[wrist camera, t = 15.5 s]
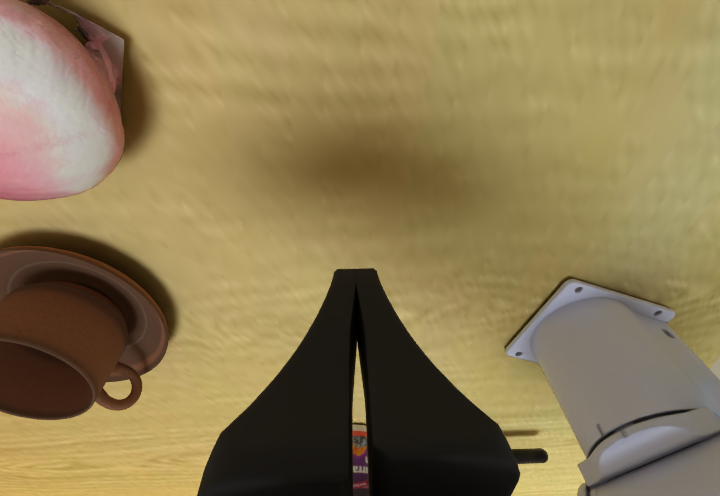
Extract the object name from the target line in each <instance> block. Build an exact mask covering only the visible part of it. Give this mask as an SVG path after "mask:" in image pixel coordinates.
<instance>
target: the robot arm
mask: <svg viewBox="0 0 720 496" xmlns="http://www.w3.org/2000/svg"><path fill="white" fill-rule="evenodd" d="M577 287H578V288H577ZM674 316H675V312H674V311H673V310H672V309H671V308H667V307H664V306H661V305H658V304H654V303H651V302H648V301H645V300H641V299H638V298H635V297H631V296H628V295H625V294H622V293H618V292H615V291H612V290H608V289H605V288H602V287H599V286H595V285H592V284H589V283H586V282H582V281H579V280H576V279H569V280H567V281H565V282H564V283H563V284H562V286H561V287H560V288H559V289H558V290H557V291H556V292H555V293H554V295H553V296H552V297H551V298H550V299H549V300H548V301H547V302H546V304H545V305H544V306H543V307H542V308H541V309H540V310H539V311H538V313H537V314H536V315H535V316H534V317H533V318H532V319H531V320H530V322H529V323H528V324H527V325H526V326H525V327H524V328H523V329H522V331H521V332H520V333H519V334H518V335H517V336H516V337H515V338H514V340H513V341H512V342H511V343H510V344H509V345H508V346H507V347H506V349H505V351H506V354H507V355H508V356H511V357H515V358H520V359H524V360H528V361H532V362H536V363H539V365H540V367H541V369H542V371H543V373H544V375H545V377H546V379H547V381H548V383H549V385H550V386H551V388H552V390H553V392H554V394H555V396H556V398H557V400H558V402H559V404H560V406H561V408H562V410H563V412H564V414H565V416H566V418H567V420H568V422H569V424H570V426H571V428H572V430H573V432H574V434H575V436H576V438H577V440H578V442H579V444H580V446H581V448H582V450H583V452H584V454H585V456H586V458H587V459H586V460H584V461H583V462H581V463H579V464H578V467H579V469H580V471H581V473H582V475H583V477H584V479H585V483H583V484H582V485H581V486H580V487H579V489H578V493H577V496H720V380H719V379H718V378H717V377H716V376H715V374H714V373H712V371H711V370H710V369H709V368H708V367H707V366H706V365H705V364H704V363H703V362H702V361H701V360H700V358H699V357H698V356H697V355H696V354H695V353H694V352H693V351H692V350H691V349H690V348H689V347H688V346H687V345H686V343H685V342H684V341H683V340H682V339H681V338H680V337H679V336H678V335H677V334H676V333H675V332H674V331H673V330H672V328H671V327H670V326H669V325H668V324H667V323H668V322H669V321H670V320H671V319H673V318H674ZM357 342H358V350H359V358H360V366H361V374H362V381H363V389H364V397H365V408H366V429H367V456H368V483H369V496H511V494H512V492H513V490H514V488H515V486H516V485H517V483H518V481H519V477H520V471H519V469H518V464H517V461H516V459H515V456H514V454H513V452H512V450H511V448H510V446H509V444H508V442H507V440H506V438H505V436H504V434H503V432H502V430H501V429H500V427H499V425H498V424H497V423H496V422H494V421H493V420H492V419H491V418H490V417H488V416H487V415H486V414H485V413H483V412H482V411H481V410H480V409H479V408H478V407H476V406H475V405H474V404H473V403H472V402H471V401H470V400H469V399H467V398H466V397H465V396H464V395H463V394H462V393H461V392H460V391H459V390H458V389H457V388H456V387H455V386H454V385H453V384H452V383H451V382H450V381H449V380H448V379H447V378H446V377H445V376H444V375H443V374H442V373H441V372H440V371H439V370H438V369H437V368H436V367H435V365H434V364H433V363H432V362H431V361H430V360H429V358H428V357H427V356H426V355H425V354H424V352H423V351H422V350H421V349H420V347H419V346H418V345H417V344H416V342H415V341H414V339H413V338H412V337H411V335H410V334H409V333H408V331H407V330H406V328H405V327H404V325H403V324H402V322H401V320H400V319H399V317H398V316H397V314H396V312H395V310H394V309H393V307H392V305H391V303H390V302H389V300H388V298H387V296H386V294H385V292H384V290H383V287H382V285H381V283H380V280H379V277H378V274H377V271H376V270H375V269H374V268H370V269H337V270H336V271H335V272H334V276H333V279H332V283H331V286H330V288H329V291H328V293H327V296H326V298H325V300H324V302H323V304H322V307H321V309H320V311H319V313H318V315H317V317H316V318H315V320H314V322H313V324H312V326H311V327H310V329H309V331H308V333H307V334H306V336H305V337H304V339H303V341H302V342H301V344H300V345H299V347H298V348H297V350H296V351H295V352H294V354H293V355H292V357H291V358H290V359H289V361H288V362H287V363H286V365H285V366H284V367H283V368H282V370H281V371H280V372H279V374H278V375H277V376H276V377H275V378H274V380H273V381H272V382H271V383H270V384H269V385H268V386H267V387H266V389H265V390H264V391H263V392H262V393H261V394H260V395H259V396H258V397H257V398H256V400H255V401H254V402H253V403H252V404H251V405H250V406H249V407H248V408H247V409H246V410H245V411H244V412H243V413H242V414H240V415H239V416H238V417H237V418H236V419H235V420H234V421H233V422H232V423H231V424H230V425H229V426H228V427H227V428H226V429H225V430H224V431H222V432H221V434H220V436H219V438H218V440H217V442H216V444H215V446H214V448H213V450H212V452H211V455H210V457H209V460H208V462H207V464H206V467H205V470H204V473H203V477H202V480H201V484H200V487H199V491H198V494H197V496H354V493H353V429H352V405H353V388H354V375H355V361H356V348H357Z"/></svg>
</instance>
